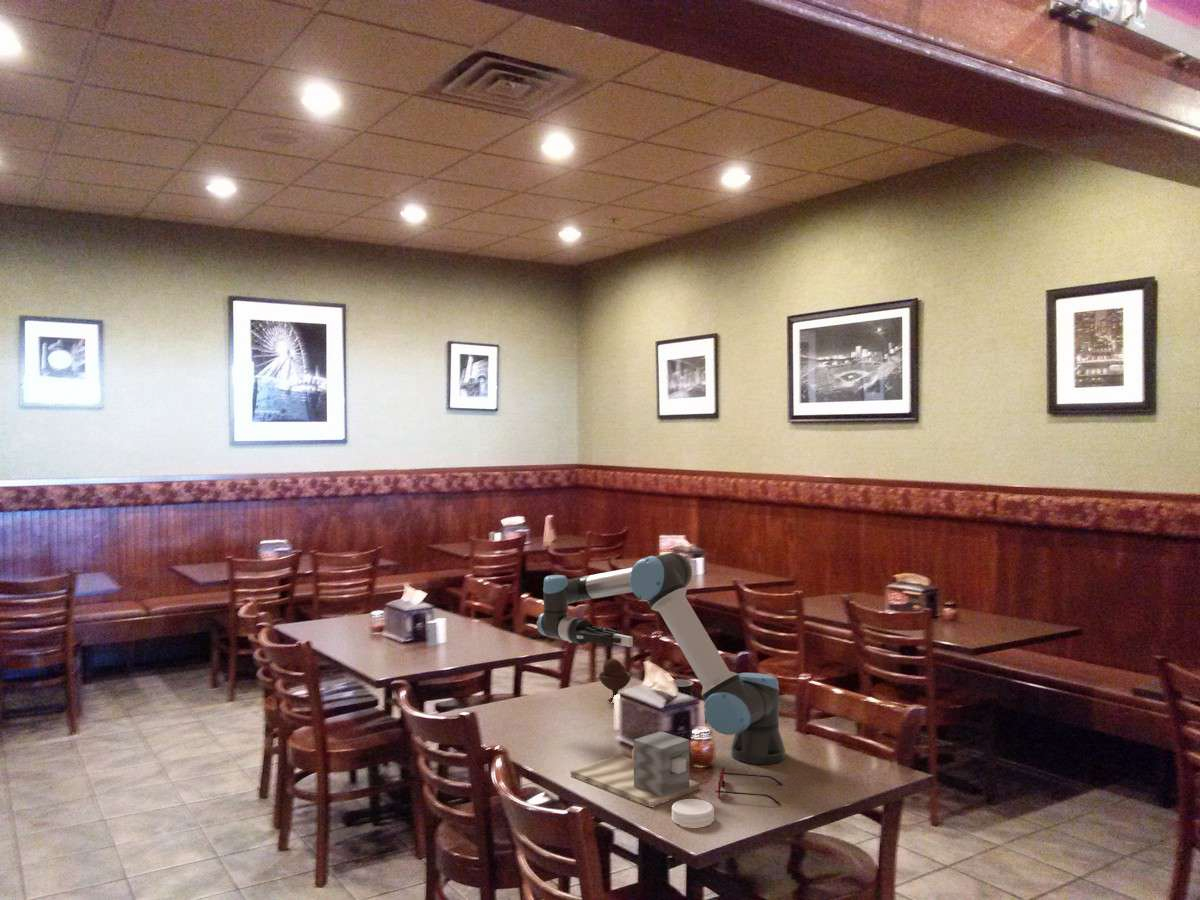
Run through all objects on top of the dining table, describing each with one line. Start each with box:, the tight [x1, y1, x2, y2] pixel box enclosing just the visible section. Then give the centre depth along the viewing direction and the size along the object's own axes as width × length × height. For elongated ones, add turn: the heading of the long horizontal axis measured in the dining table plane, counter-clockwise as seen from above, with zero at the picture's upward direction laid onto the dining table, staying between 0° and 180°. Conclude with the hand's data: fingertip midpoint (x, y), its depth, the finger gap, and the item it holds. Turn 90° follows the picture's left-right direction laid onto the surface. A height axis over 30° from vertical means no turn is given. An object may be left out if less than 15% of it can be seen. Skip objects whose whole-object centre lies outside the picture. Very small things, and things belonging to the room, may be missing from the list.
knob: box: [631, 747, 686, 774], centre depth 234 cm, size 14×6×6 cm, turn 43°
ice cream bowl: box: [598, 658, 632, 704], centre depth 316 cm, size 11×11×15 cm
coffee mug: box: [673, 679, 694, 697], centre depth 304 cm, size 12×9×10 cm
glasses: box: [714, 766, 784, 805], centre depth 234 cm, size 14×16×5 cm
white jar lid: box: [671, 798, 715, 827], centre depth 217 cm, size 10×10×4 cm
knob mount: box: [570, 730, 701, 808], centre depth 241 cm, size 30×18×14 cm, turn 43°
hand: (630, 641), depth 264 cm, fingers closed
